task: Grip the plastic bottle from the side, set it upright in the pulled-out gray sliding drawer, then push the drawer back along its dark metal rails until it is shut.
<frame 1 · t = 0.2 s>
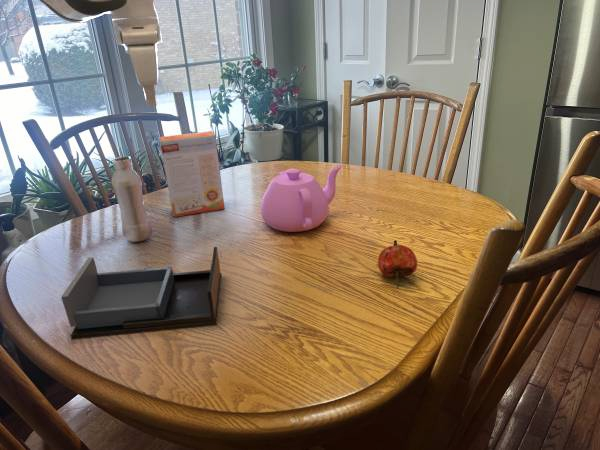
hand: (151, 104, 95), 31 cm above the table, tool pointing down, fingers open, 8 cm apart
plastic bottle: (139, 239, 106), on the table
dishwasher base: (146, 305, 80), on the table
teapot: (303, 221, 112), on the table
cracker box: (198, 210, 122), on the table
gray sliding drawer: (123, 287, 78), point 4 cm above the table, slide at 8.0 cm
pomegranate: (396, 279, 86), on the table
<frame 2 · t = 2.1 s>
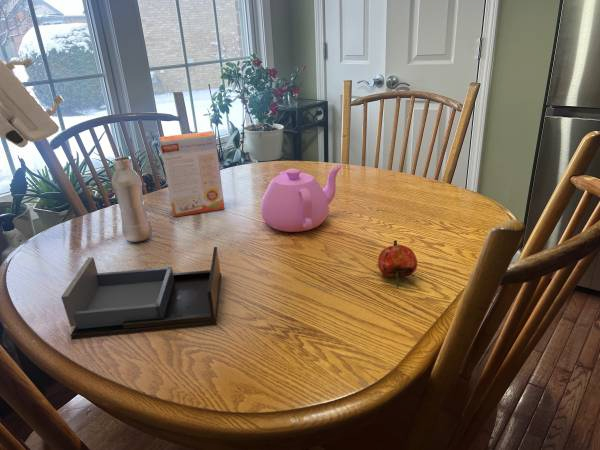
hand: (46, 79, 100), 37 cm above the table, tool pointing upward, fingers open, 8 cm apart
nothing on the table moved.
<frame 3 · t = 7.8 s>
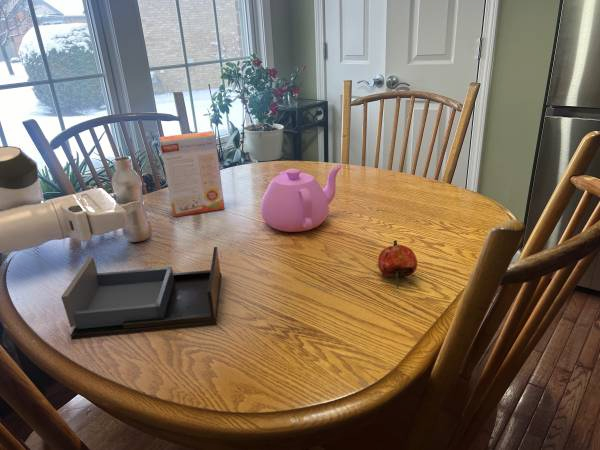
hand: (134, 199, 102), 10 cm above the table, tool horizontal, fingers closed on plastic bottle, 5 cm apart
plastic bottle: (139, 239, 106), on the table, touching gripper
everything else where it was.
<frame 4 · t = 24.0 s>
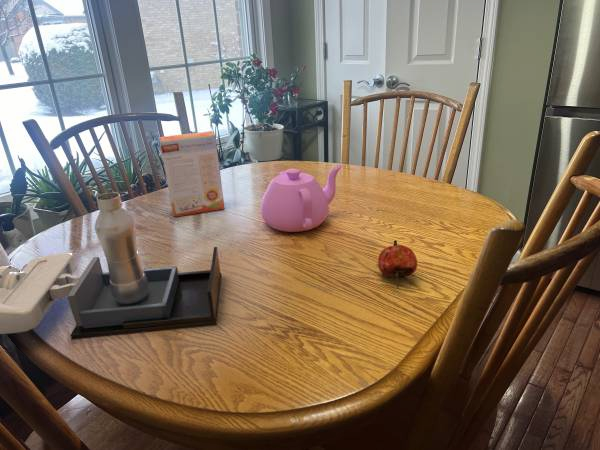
hand: (84, 284, 77), 5 cm above the table, tool horizontal, fingers closed, pressing on gray sliding drawer
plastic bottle: (132, 299, 80), point 1 cm above the table, touching gray sliding drawer
gray sliding drawer: (129, 287, 78), point 4 cm above the table, slide at 7.0 cm, touching gripper, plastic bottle
everything else where it was.
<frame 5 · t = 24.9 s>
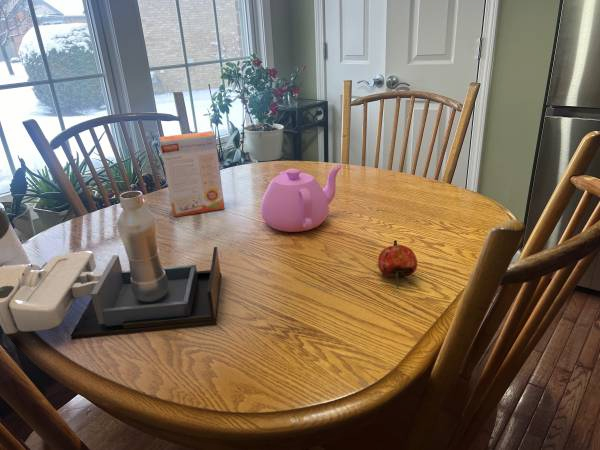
hand: (105, 282, 78), 5 cm above the table, tool horizontal, fingers closed, pressing on gray sliding drawer
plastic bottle: (152, 297, 80), point 1 cm above the table, touching gray sliding drawer
gray sliding drawer: (149, 285, 79), point 4 cm above the table, slide at 3.4 cm, touching gripper, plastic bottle
everything else where it was.
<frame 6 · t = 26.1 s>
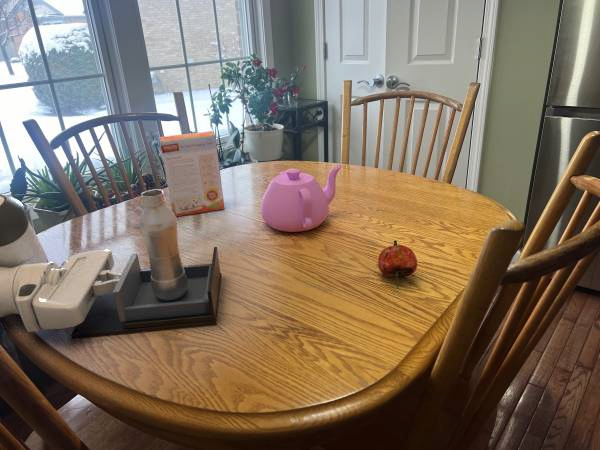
hand: (125, 280, 78), 5 cm above the table, tool horizontal, fingers closed, pressing on gray sliding drawer
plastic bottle: (172, 295, 81), point 1 cm above the table, touching gray sliding drawer
gray sliding drawer: (169, 283, 79), point 4 cm above the table, slide at -0.1 cm, touching gripper, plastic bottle
everything else where it was.
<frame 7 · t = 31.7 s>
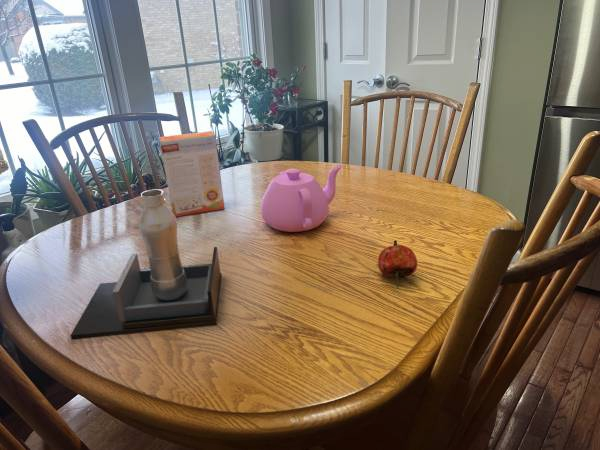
hand: (3, 167, 73), 26 cm above the table, tool horizontal, fingers closed
gray sliding drawer: (168, 283, 79), point 4 cm above the table, slide at 0.0 cm, touching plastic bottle
everything else where it was.
at the end: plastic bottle inside the target area on the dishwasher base (0.4 cm from its centre), point 1.3 cm above the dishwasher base's base; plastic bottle tilted 0°; gray sliding drawer slide at 0.0 cm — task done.
